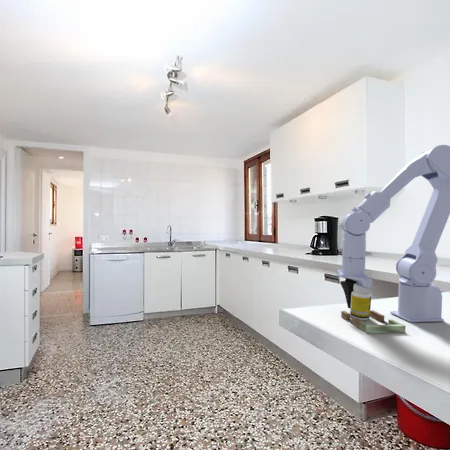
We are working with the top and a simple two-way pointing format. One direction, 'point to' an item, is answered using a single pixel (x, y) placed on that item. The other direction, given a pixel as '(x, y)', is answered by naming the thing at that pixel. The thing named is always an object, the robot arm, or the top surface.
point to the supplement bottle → (360, 302)
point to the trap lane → (371, 329)
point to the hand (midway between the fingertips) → (352, 308)
